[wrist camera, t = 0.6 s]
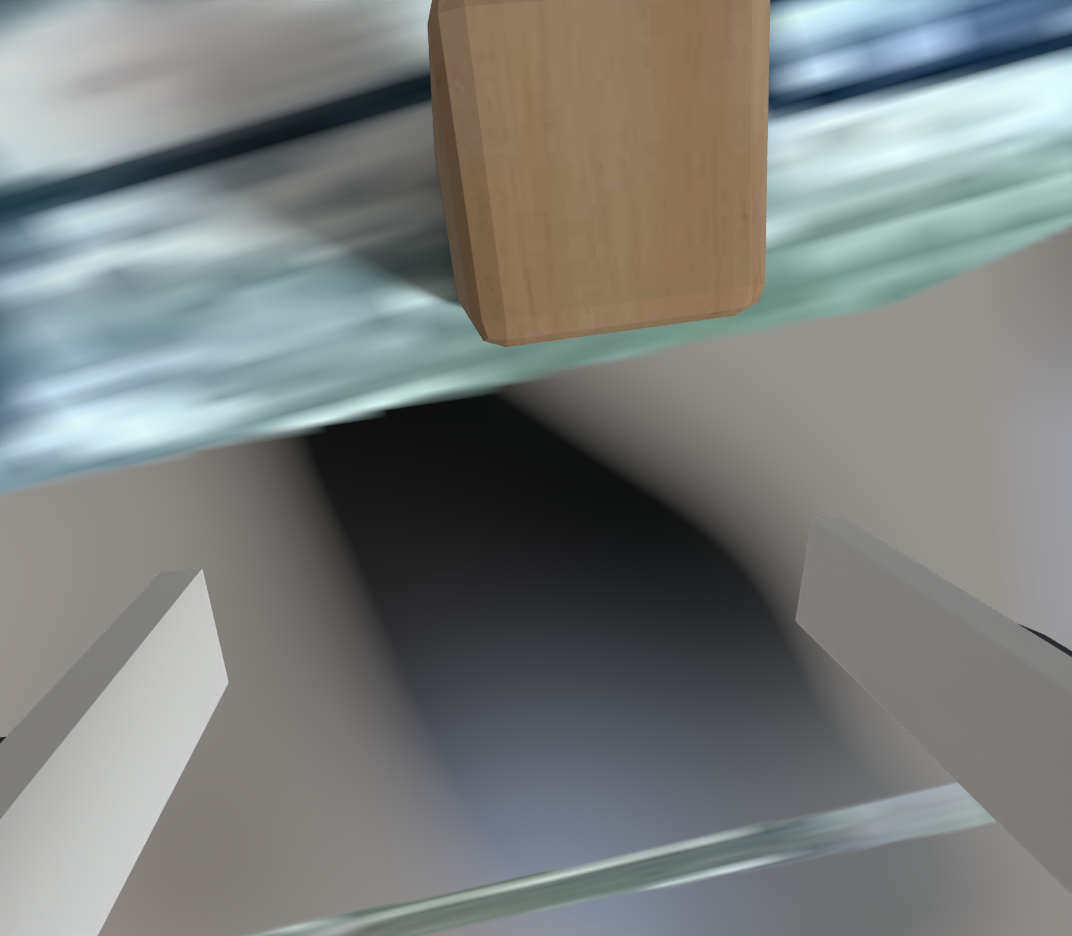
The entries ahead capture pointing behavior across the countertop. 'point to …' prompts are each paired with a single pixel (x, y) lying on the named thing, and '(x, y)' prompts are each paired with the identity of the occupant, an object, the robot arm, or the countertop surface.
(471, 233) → the wooden block
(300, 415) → the countertop surface
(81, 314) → the countertop surface
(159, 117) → the countertop surface
